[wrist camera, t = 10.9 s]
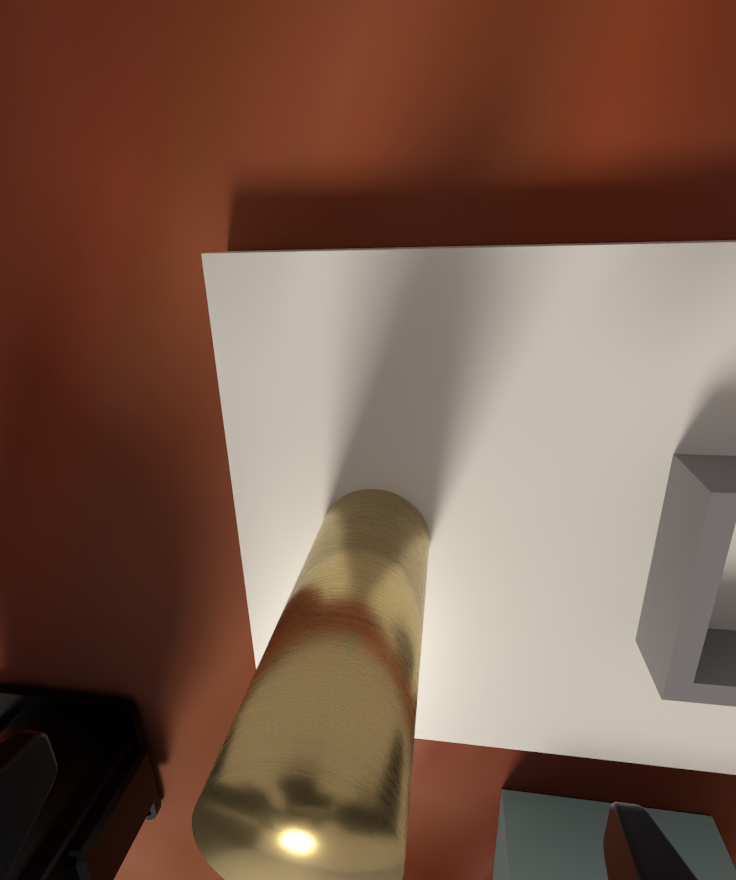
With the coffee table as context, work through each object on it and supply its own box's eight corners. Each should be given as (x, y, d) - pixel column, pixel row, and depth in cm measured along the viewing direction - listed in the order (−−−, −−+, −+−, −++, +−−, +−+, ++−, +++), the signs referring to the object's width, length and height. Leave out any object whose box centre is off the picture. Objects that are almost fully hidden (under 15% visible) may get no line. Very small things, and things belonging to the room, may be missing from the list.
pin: (325, 578, 15) (207, 897, 8) (319, 486, 14) (176, 758, 7) (428, 586, 15) (404, 931, 8) (430, 491, 14) (404, 787, 6)
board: (276, 685, 19) (241, 776, 16) (226, 251, 14) (157, 257, 11) (896, 750, 16) (1005, 877, 13) (1146, 230, 11) (1437, 231, 8)
